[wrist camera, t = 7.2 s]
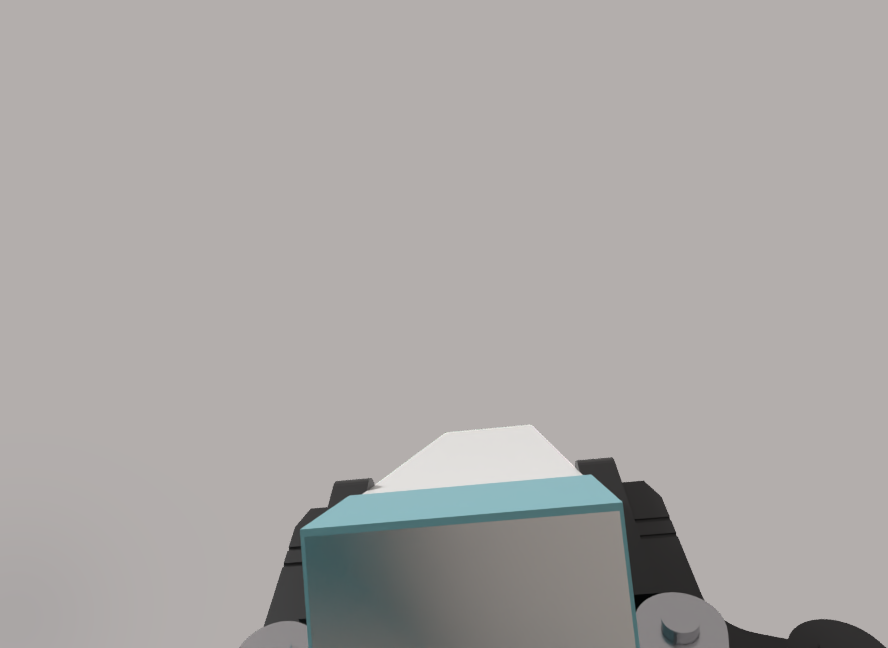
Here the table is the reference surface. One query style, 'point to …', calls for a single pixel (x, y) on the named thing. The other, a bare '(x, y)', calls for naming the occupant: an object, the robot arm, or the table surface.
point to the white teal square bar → (473, 553)
